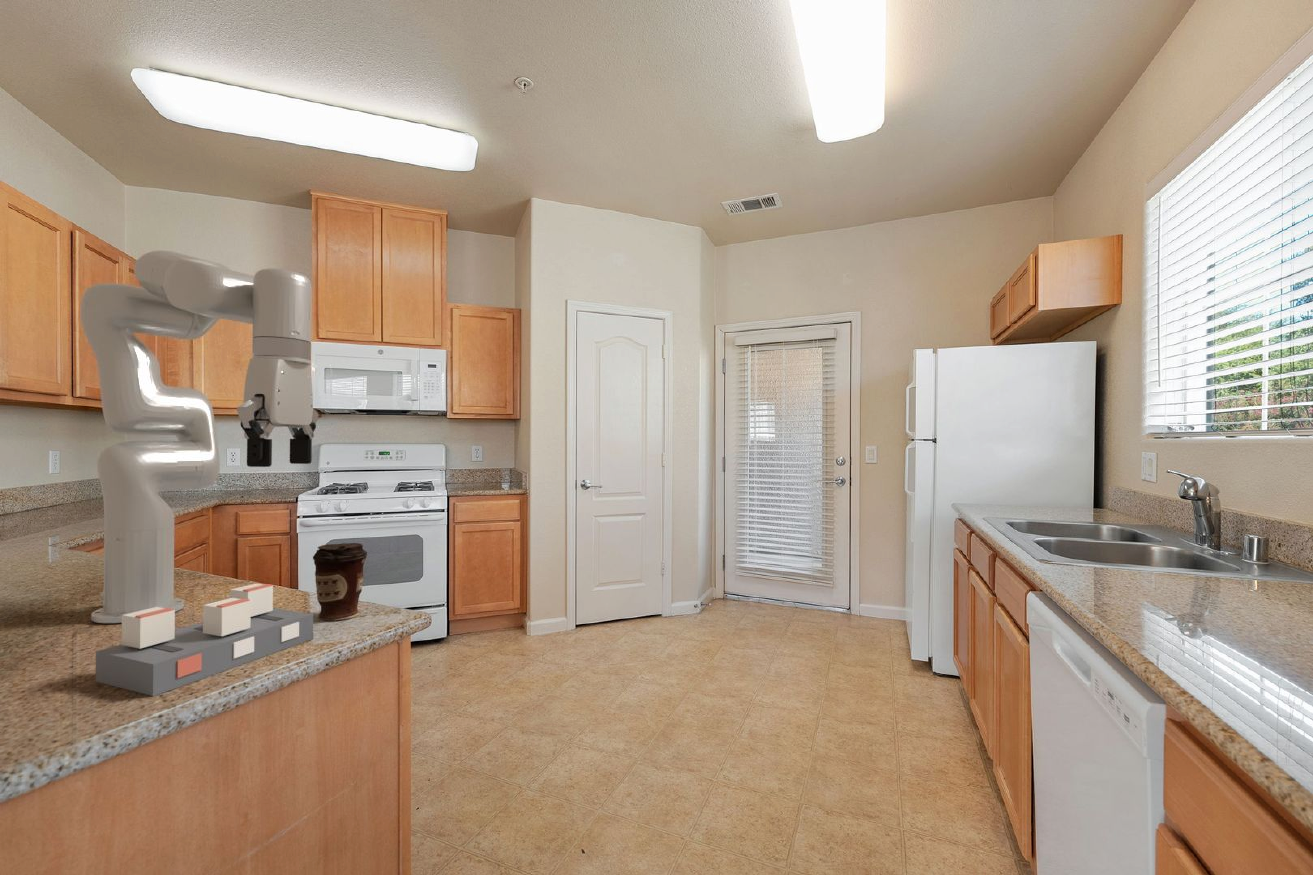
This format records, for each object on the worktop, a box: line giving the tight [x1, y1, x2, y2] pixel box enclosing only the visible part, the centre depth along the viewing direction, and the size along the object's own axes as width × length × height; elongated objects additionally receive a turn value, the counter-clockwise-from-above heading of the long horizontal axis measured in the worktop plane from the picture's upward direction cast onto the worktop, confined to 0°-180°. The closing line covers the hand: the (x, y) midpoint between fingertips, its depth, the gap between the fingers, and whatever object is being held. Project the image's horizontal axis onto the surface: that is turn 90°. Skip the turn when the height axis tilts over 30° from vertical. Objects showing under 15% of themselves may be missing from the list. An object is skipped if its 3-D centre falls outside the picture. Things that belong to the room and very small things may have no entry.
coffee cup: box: [312, 542, 368, 621], centre depth 103 cm, size 9×8×13 cm
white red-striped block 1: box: [202, 597, 251, 636], centre depth 83 cm, size 4×4×4 cm
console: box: [95, 607, 314, 697], centre depth 84 cm, size 12×22×4 cm, turn 160°
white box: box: [121, 607, 176, 649], centre depth 78 cm, size 4×4×4 cm
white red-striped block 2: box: [229, 583, 274, 617], centre depth 91 cm, size 4×4×4 cm
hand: (281, 465), depth 87 cm, fingers open, 9 cm apart
